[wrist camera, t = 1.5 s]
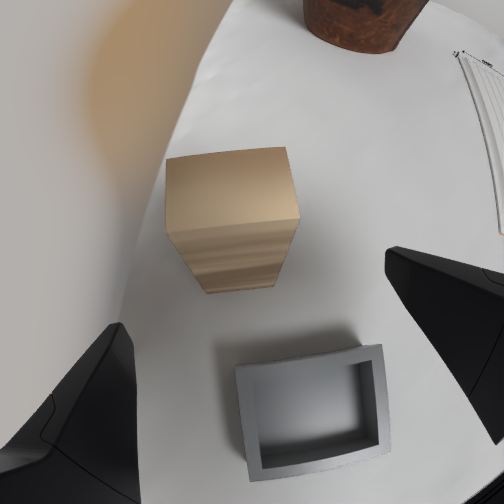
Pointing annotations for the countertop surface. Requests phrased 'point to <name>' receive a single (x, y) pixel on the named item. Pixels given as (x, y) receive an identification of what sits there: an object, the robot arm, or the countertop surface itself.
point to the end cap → (313, 412)
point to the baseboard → (489, 122)
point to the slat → (232, 216)
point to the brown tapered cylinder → (362, 22)
